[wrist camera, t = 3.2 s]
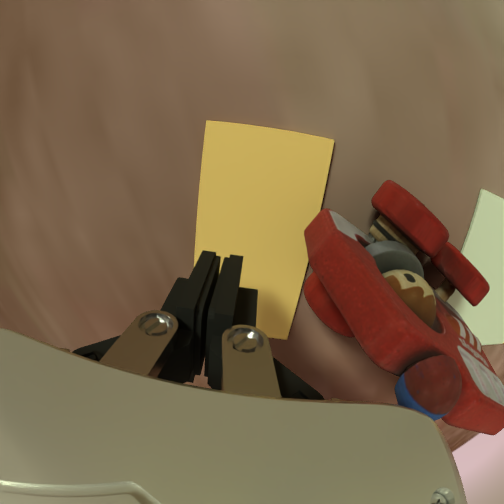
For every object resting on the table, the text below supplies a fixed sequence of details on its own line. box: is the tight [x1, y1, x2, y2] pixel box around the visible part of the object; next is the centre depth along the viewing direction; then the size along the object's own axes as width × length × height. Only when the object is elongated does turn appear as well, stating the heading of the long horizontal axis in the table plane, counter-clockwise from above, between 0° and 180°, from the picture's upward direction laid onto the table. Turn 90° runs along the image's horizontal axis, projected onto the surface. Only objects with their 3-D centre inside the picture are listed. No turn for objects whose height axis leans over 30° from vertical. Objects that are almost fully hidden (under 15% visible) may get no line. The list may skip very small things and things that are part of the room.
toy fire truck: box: [304, 180, 504, 435], centre depth 10 cm, size 7×12×10 cm, turn 56°
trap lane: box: [194, 120, 504, 345], centre depth 15 cm, size 12×35×1 cm, turn 82°
